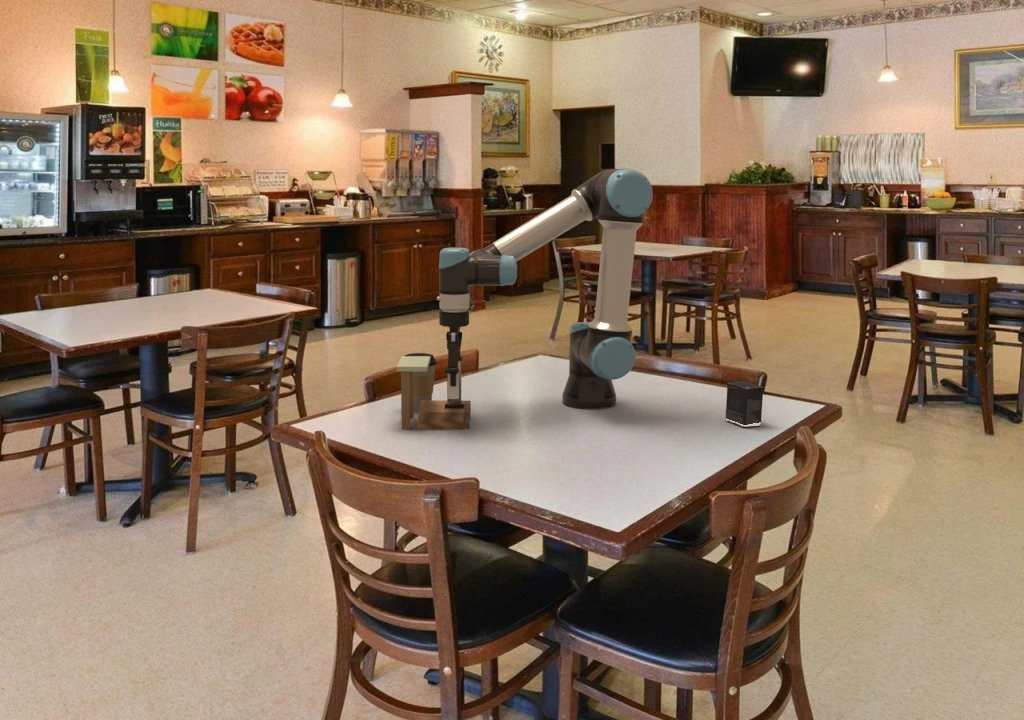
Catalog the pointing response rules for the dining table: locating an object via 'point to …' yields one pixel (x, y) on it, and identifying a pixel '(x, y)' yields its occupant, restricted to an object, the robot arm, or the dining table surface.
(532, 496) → the dining table surface
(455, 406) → the peg
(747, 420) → the box
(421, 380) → the coffee cup
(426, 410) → the socket
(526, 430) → the dining table surface
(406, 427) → the capped wooden post
